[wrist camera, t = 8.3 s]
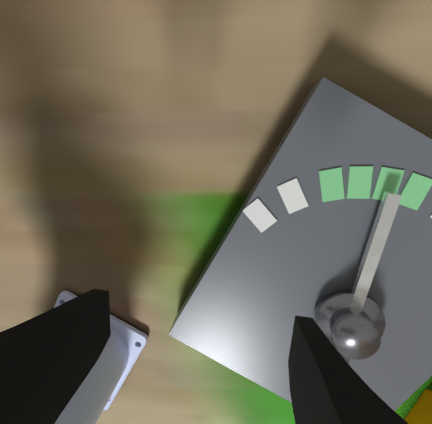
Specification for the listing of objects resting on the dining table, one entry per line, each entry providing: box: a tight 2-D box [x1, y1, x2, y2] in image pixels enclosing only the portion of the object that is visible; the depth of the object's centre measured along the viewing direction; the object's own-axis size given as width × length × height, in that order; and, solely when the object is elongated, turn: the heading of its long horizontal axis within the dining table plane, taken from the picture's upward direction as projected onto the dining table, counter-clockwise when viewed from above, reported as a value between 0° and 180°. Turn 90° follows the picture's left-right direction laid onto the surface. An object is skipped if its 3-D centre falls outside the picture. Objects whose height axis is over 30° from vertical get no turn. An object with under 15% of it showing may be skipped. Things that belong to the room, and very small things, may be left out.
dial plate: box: [168, 77, 432, 411], centre depth 20 cm, size 19×16×3 cm
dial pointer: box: [314, 191, 402, 364], centre depth 16 cm, size 14×4×4 cm, turn 171°
